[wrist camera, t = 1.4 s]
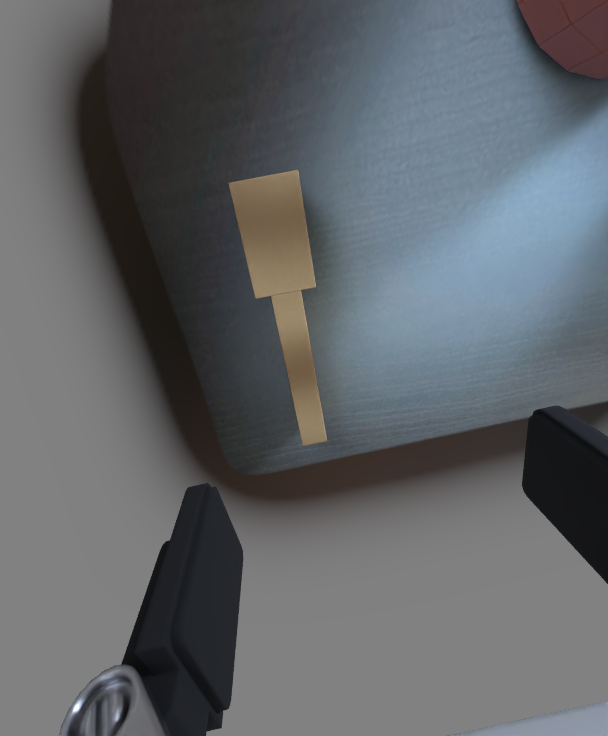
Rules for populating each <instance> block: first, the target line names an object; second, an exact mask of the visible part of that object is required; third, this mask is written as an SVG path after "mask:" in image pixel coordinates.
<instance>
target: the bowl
mask: <svg viewBox="0 0 608 736" xmlns="http://www.w3.org/2000/svg"><path fill="white" fill-rule="evenodd" d="M517 3H518V4H519V5H518V6H519V8H520V10H521V12H522V14H523V17H524V19H525V21H526V23H527V25H528V27H529V29H530V31H531V33H532V35H533V37H534V39H535V41H536V43H537V45H539V47H540V48H541V49H542V50H543V51H545V52H546V53H547V54H548V55H549V56H550V57H551V58H553V59H554V60H555V61H556V62H557V63H558V64H559V65H561V66H562V67H563V68H564V69H565V70H567V71H569V72H573V73H577V74H581V75H585V76H589V77H593V78H597V79H602V80H603V79H608V0H517Z"/></svg>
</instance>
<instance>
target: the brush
mask: <svg viewBox="0 0 608 736" xmlns="http://www.w3.org/2000/svg"><path fill="white" fill-rule="evenodd" d="M229 188H230V192H231V196H232V200H233V205H234V209H235V213H236V217H237V222H238V226H239V230H240V235H241V239H242V243H243V247H244V252H245V256H246V260H247V264H248V269H249V273H250V277H251V281H252V286H253V290H254V294H255V298H256V299H258V298H263V297H269V296H271V299H272V304H273V309H274V313H275V318H276V323H277V328H278V332H279V337H280V342H281V346H282V351H283V356H284V360H285V365H286V370H287V374H288V379H289V384H290V388H291V393H292V398H293V402H294V407H295V412H296V416H297V421H298V426H299V430H300V435H301V440H302V444H303V446H305V445H310V444H315V443H320V442H325V441H327V437H326V431H325V425H324V420H323V414H322V408H321V402H320V397H319V391H318V385H317V379H316V373H315V368H314V362H313V356H312V350H311V345H310V339H309V333H308V327H307V322H306V316H305V310H304V304H303V299H302V293H301V290H305V289H310V288H315V287H316V283H315V276H314V270H313V263H312V257H311V250H310V244H309V237H308V231H307V224H306V218H305V211H304V205H303V198H302V192H301V185H300V179H299V172H298V170H295V171H290V172H284V173H279V174H274V175H268V176H263V177H258V178H252V179H247V180H241V181H236V182H231V183H229Z"/></svg>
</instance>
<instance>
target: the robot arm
mask: <svg viewBox="0 0 608 736" xmlns="http://www.w3.org/2000/svg"><path fill="white" fill-rule="evenodd" d="M522 487H523V490H524V492H525V494H526V495H527V497H528V498H529V499H530V500H531V501H532V502H533V503H534V505H535V506H536V507H537V508H539V510H540V511H541V512H542V513H543V514H544V515H545V516H546V518H547V519H548V520H549V521H551V523H552V524H553V525H554V526H555V527H556V528H557V529H558V531H559V532H560V533H561V534H562V535H563V536H564V537H565V538H566V539H567V540H568V541H569V542H570V544H572V546H573V547H574V548H575V549H576V550H577V551H578V552H579V553H580V554H581V555H582V556H583V558H584V559H585V560H586V561H587V562H588V563H589V564H590V565H591V566H592V567H593V568H594V570H595V571H596V572H597V573H598V574H599V575H600V576H601V577H602V578H603V579H604V580H605V581H606V583H607V584H608V437H607V436H606V435H604V434H603V433H601V432H600V431H598V430H597V429H595V428H594V427H592V426H591V425H589V424H587V423H586V422H584V421H583V420H581V419H580V418H578V417H577V416H575V415H573V414H572V413H570V412H569V411H567V410H566V409H564V408H563V407H560V406H551V407H547V408H542V409H538V410H535V411H534V412H533V415H532V416H531V417H530V418H529V422H528V431H527V440H526V450H525V460H524V470H523V481H522ZM242 567H243V550H242V547H241V544H240V542H239V539H238V537H237V534H236V532H235V530H234V527H233V525H232V523H231V520H230V518H229V516H228V513H227V511H226V508H225V506H224V504H223V501H222V499H221V497H220V494H219V492H218V490H217V488H216V487H211V486H210V485H209V484H208V483H206V484H201V485H197V486H192V487H188V488H187V490H186V492H185V495H184V498H183V501H182V505H181V508H180V511H179V514H178V517H177V520H176V523H175V526H174V530H173V533H172V536H171V539H170V541H166V542H165V543H164V544H163V546H162V548H161V550H160V553H159V555H158V558H157V561H156V564H155V567H154V570H153V573H152V576H151V579H150V582H149V585H148V588H147V591H146V594H145V597H144V600H143V602H142V605H141V608H140V611H139V614H138V617H137V620H136V623H135V626H134V629H133V632H132V635H131V638H130V641H129V644H128V647H127V650H126V653H125V655H124V659H123V661H122V664H121V665H115V666H113V667H111V668H109V669H107V670H104V671H103V672H101V673H100V674H99V675H98V676H96V677H95V678H94V679H92V680H91V681H90V682H89V684H87V686H86V687H85V688H84V689H83V690H82V691H81V692H80V693H79V695H78V696H77V698H76V699H75V701H74V702H73V704H72V705H71V707H70V708H69V710H68V712H67V715H66V717H65V719H64V721H63V723H62V725H61V729H60V733H59V736H206V731H210V730H214V729H219V728H221V727H222V718H223V710H227V709H228V708H229V706H230V702H231V695H232V683H233V672H234V659H235V648H236V637H237V625H238V614H239V601H240V590H241V579H242ZM450 736H608V701H606V702H602V703H596V704H592V705H587V706H582V707H578V708H573V709H569V710H564V711H560V712H555V713H550V714H545V715H541V716H537V717H532V718H527V719H523V720H518V721H514V722H509V723H505V724H500V725H495V726H491V727H487V728H481V729H477V730H472V731H468V732H463V733H459V734H454V735H450Z"/></svg>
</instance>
